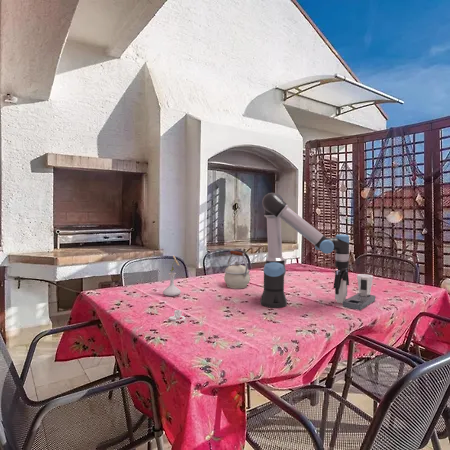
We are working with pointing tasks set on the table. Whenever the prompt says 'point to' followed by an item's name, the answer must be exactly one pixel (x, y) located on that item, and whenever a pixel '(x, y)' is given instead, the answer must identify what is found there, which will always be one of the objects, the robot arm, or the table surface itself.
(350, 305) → the grey and white block
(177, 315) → the teacup and saucer
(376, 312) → the table surface
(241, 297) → the table surface
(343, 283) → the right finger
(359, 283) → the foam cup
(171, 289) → the flower in vase
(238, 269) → the kettle
